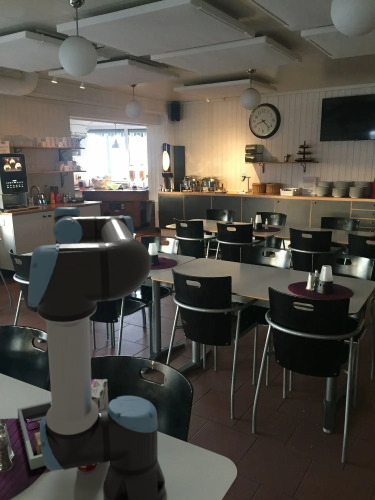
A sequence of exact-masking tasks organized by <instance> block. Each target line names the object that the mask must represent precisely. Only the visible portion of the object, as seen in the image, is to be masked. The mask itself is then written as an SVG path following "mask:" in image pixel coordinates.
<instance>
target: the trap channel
mask: <svg viewBox="0 0 375 500" xmlns="http://www.w3.org/2000/svg"><path fill="white" fill-rule="evenodd" d="M51 406H52V400H50V401H46V402H42V403H37V404H33V405H32V404H31V405H29V406H23V407H20V408H17V418H18V419H19V420H18V423H19V422H20V424H19V427H20V426H21V428H20V431H21V430H22V432H21V435H23V436H22V439H24V440H23V443H25V444H24V447H25V451H26V455H27V460H28V463H29V467H30V470H31V471H32V470H35V469H39V468H41V467H46V465H45V463H44V460H43V456H42V454H40V455H37V454H36V455H34V453H33V448H32V445H31V441H30V438H29V433H28V431H27V430H28V429H27V427H26V426H27V425H26V421H25V420H26V419H29V420H35V421H34V422H39V423H40V422H41V420H42V418H44V417H46V414H47V412H48V410H49V409H50V407H51ZM24 418H25V419H24Z"/></svg>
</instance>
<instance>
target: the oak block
mask: <svg viewBox="0 0 375 500" xmlns="http://www.w3.org/2000/svg"><path fill="white" fill-rule="evenodd" d="M34 444H35V445H34V446H35V451H36V455H40V454H42V450H41V441H40V431H38V432H34Z"/></svg>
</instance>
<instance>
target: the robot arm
mask: <svg viewBox="0 0 375 500" xmlns="http://www.w3.org/2000/svg"><path fill="white" fill-rule="evenodd" d="M53 221H54V222H53V223H54V224H53V227H52V228H53V229H52V231H53V232H52V233H53V236H54V238H55V239H54V240H55V244H47V245H46V244H45V245H39V246H37V247H35V248H34V249H33V251H32V253H31V258H30V259H31V261H30V267H29V279H28V289H27V291H28V293H27V304H28V306H29V307H32V308H36V312H37V315H38V316H39V318H40V319H42V320H43V321H45V323H46V339H47V350H48V366H49V380H50V394H51V401H52V406H51V407H50V409H49V410H48V412H47V414H46V417H44V418H42V420H40V421H41V422H40V428H39V432H40V441H41V450H42V456H43V460H44V463H45V467H46V468H47V469H49V470H50V471H62V470H64V471H66V470H70V469H74V468H77V467H81V466H87V465H92V464H97V465H98V464H102V463H107V462H108V463H109V464H108V465H109V466H108V468H107V472H106V475H105V478H104V481H103V486H102V489H103V490H102V491H103V500H163V498H164V495H165V493H166V480H165V479H166V478H165V476H164V473H163V470H162V468H161V465H160V462H159V458H158V454H159V453H158V429H159V428H158V427H159V422H158V414H157V413H158V412H157V409H156V407H155V406H154V404H153V403H152V402H151V401H150V400H148V399H146V398H143V397H140V396H135V395H120V396H117V397H115V398H113V399H112V400H110V401H109V402H108V407H107V409H99V408H98V406H97V404H96V403H95V402H94V401H93V400H92V390H91V381H92V366H91V365H92V364H91V363H92V361H91V360H92V359H91V328H90V327H91V326H90V317H91V316H93V315H94V314H95V313H96V311H97V307H98V305H97V304H98V303H97V302H105V301H107V302H109V301H116V300H119V299H123V298H125V297H128V296H129V295H131V294H132V293H134V292H136V291H137V290H138V289H139V288H140V287H142V285H143V284H144V283H145V281H146V280H147V278H148V276H149V274H150V272H151V269H152V258H151V254H150V252H149V251H148V248H147V247H146V245H145V244H143V243H142V242H141V241H140V240H138V239H135V237H134V234H135V227H134V222H133V221H134V220H133V218H132V217H131V216H130V215H126V216H125V215H114V216H113V215H108V216H81V215H80V210H79V208H78V207H75V206H73V207H71V206H64V207H63V206H62V207H56V208H54V211H53Z"/></svg>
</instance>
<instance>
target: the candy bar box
mask: <svg viewBox="0 0 375 500" xmlns="http://www.w3.org/2000/svg"><path fill="white" fill-rule="evenodd" d="M108 385H109V384H108V379H107V378H102V379H101V378H99V379H98V378H94V379H93V378H91V390H92V400H93V401H94V402H95V403H96V404H97V406H98V408H99V409H107V407H108V405H109V387H108Z"/></svg>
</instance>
